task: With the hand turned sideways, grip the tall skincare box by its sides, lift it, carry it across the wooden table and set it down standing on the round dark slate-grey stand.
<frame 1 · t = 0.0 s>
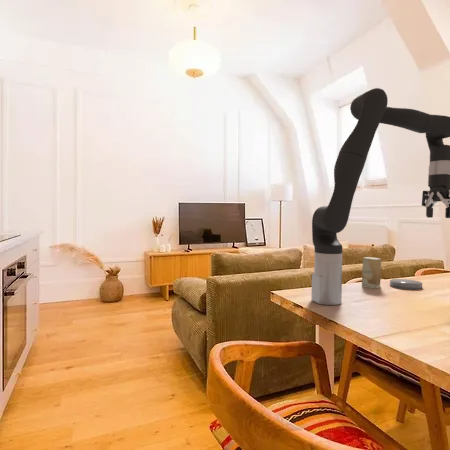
hand: (438, 217, 127), 29 cm above the table, tool pointing down, fingers open, 8 cm apart
skincare box: (371, 287, 142), on the table
medicine box: (332, 289, 138), on the table
stand: (405, 286, 143), on the table
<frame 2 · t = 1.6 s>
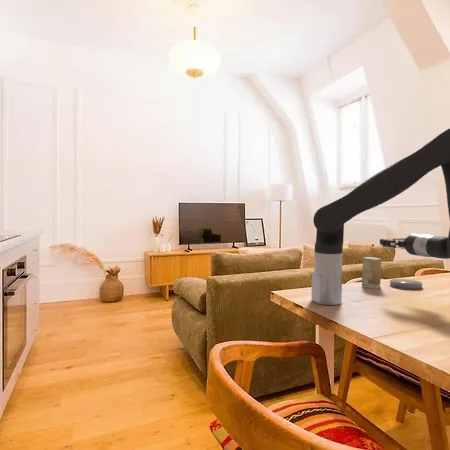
hand: (390, 241, 130), 20 cm above the table, tool horizontal, fingers open, 8 cm apart
nothing on the table moved.
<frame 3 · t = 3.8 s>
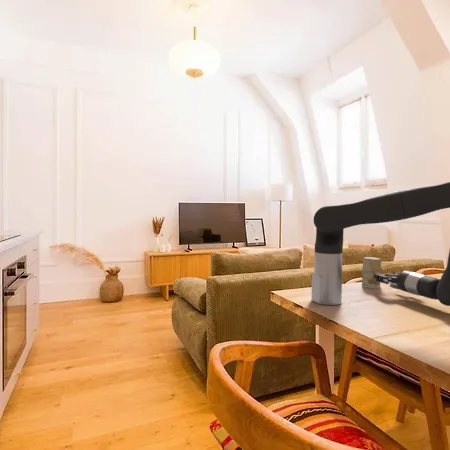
hand: (384, 274, 134), 7 cm above the table, tool horizontal, fingers open, 8 cm apart
nothing on the table moved.
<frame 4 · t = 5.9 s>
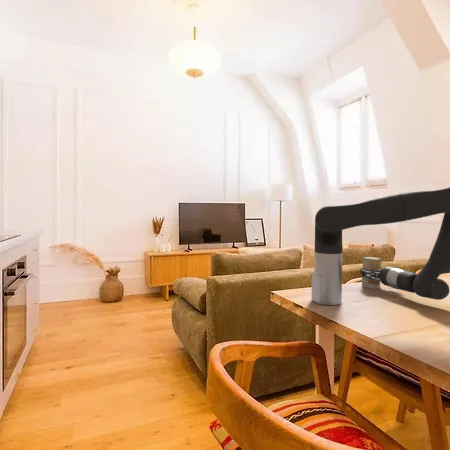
hand: (368, 270, 144), 7 cm above the table, tool horizontal, fingers closed on skincare box, 6 cm apart
skincare box: (371, 287, 142), on the table, touching gripper
everything else where it was.
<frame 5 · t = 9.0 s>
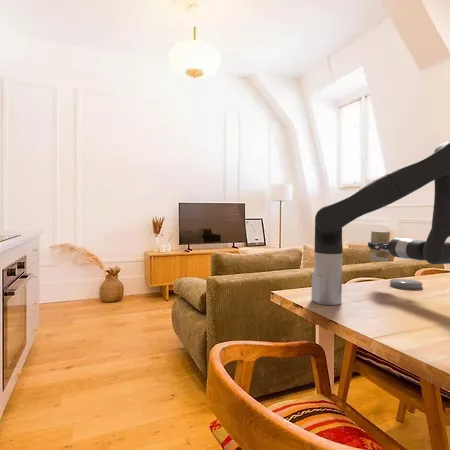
hand: (376, 244, 144), 18 cm above the table, tool horizontal, fingers closed on skincare box, 6 cm apart
skincare box: (379, 261, 142), point 11 cm above the table, touching gripper
everything else where it was.
when the fingers open (10 cm above the table, at t = 12.0 s): skincare box drops 1 cm, resting on stand.
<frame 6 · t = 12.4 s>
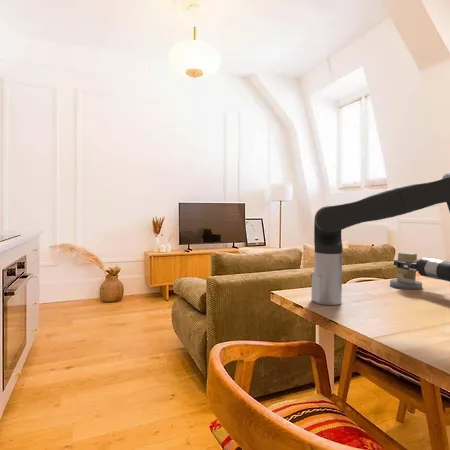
hand: (403, 262, 145), 10 cm above the table, tool horizontal, fingers open, 8 cm apart
skincare box: (406, 282, 143), point 2 cm above the table, touching stand
everything else where it was.
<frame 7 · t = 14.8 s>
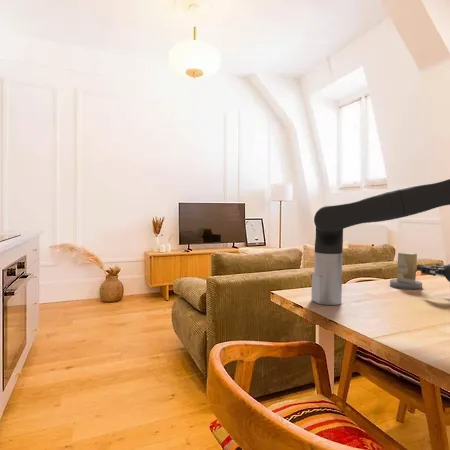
hand: (427, 267, 132), 10 cm above the table, tool horizontal, fingers open, 8 cm apart
nothing on the table moved.
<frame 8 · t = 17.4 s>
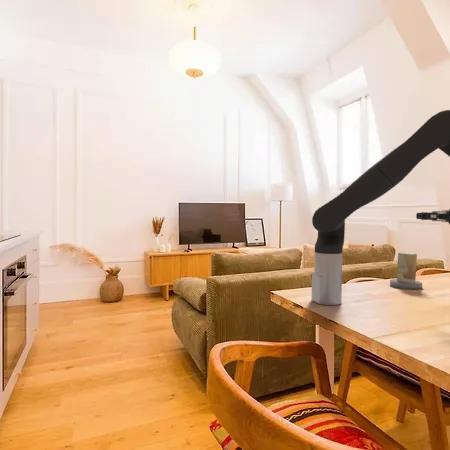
hand: (427, 215, 120), 30 cm above the table, tool horizontal, fingers open, 8 cm apart
nothing on the table moved.
at the end: skincare box inside the target area on the stand (0.1 cm from its centre), point 1.8 cm above the stand's base; skincare box tilted 0°; the gripper is holding nothing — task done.
